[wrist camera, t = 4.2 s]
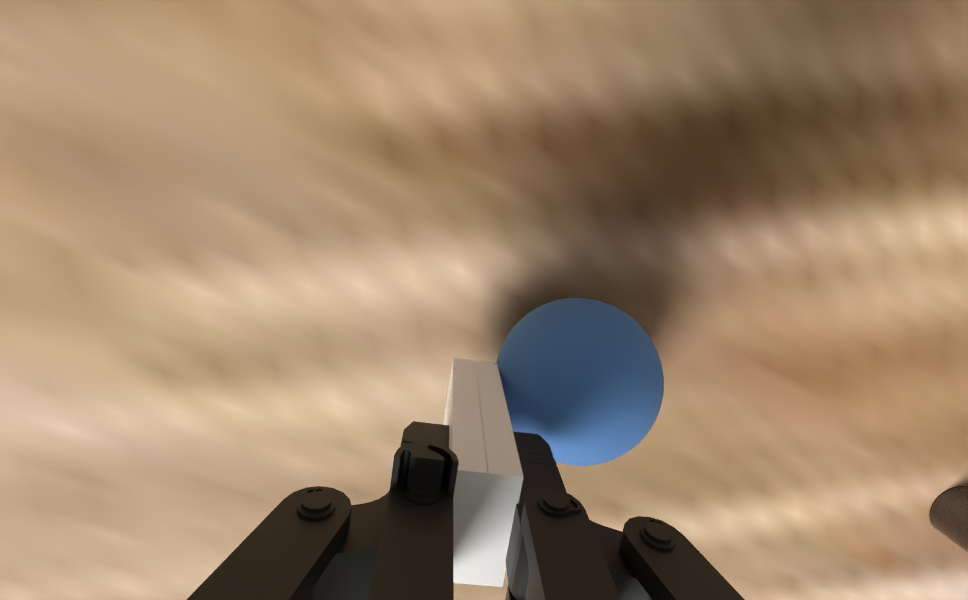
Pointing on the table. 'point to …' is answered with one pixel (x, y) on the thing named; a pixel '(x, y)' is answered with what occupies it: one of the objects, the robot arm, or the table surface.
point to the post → (952, 515)
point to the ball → (581, 379)
